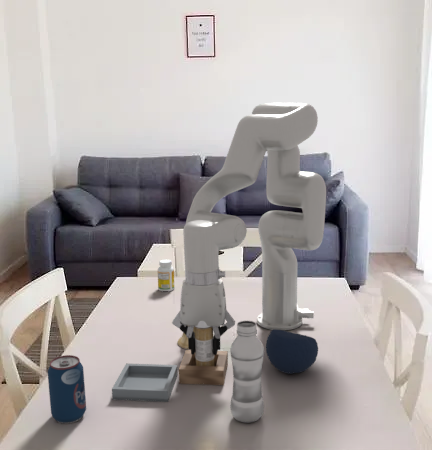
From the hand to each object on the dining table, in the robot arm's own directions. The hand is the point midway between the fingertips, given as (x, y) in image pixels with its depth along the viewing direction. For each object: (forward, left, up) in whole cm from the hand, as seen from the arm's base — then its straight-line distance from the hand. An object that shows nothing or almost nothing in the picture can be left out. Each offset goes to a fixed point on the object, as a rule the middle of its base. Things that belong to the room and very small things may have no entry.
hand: (204, 351), depth 137 cm
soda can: (+25, +20, -6) cm, 33 cm away
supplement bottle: (+20, -58, -6) cm, 61 cm away
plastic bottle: (-11, +18, -6) cm, 22 cm away
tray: (+12, +7, -5) cm, 15 cm away
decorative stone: (-20, -3, -6) cm, 21 cm away
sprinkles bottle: (0, 0, -5) cm, 5 cm away
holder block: (0, 0, -5) cm, 5 cm away
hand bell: (+5, -17, -6) cm, 18 cm away
